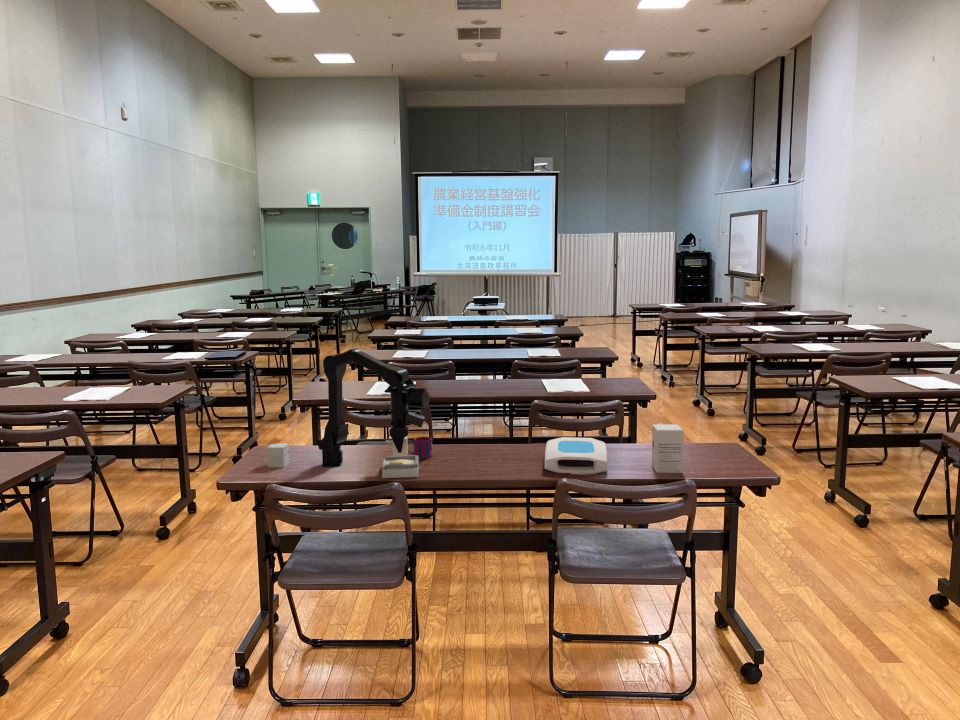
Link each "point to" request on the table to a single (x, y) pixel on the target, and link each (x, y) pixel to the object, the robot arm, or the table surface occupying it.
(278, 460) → the skincare box
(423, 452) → the mug
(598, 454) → the document scanner
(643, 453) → the table surface
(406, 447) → the spout can
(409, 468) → the grey tray
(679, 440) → the supplement box
